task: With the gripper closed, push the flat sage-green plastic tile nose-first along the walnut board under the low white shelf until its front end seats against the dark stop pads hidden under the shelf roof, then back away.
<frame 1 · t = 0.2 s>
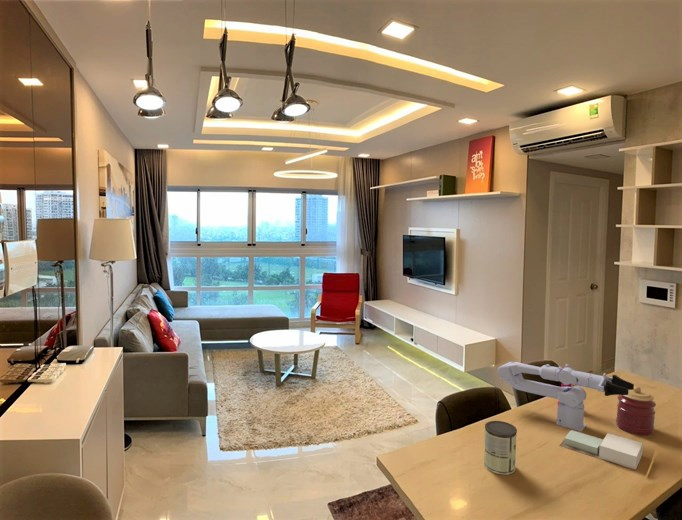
hand: (630, 389, 164), 21 cm above the table, tool horizontal, fingers open, 7 cm apart
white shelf: (621, 450, 156), on the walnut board
coffee can: (499, 467, 150), on the table
pepper mill: (565, 407, 199), on the table
sage tile: (583, 444, 164), resting on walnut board
canister: (634, 428, 178), on the table
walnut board: (618, 457, 156), on the table
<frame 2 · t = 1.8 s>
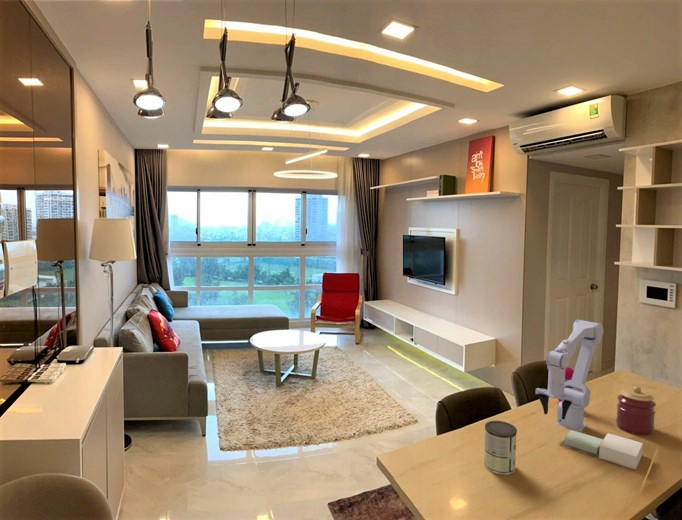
hand: (554, 416, 170), 8 cm above the table, tool pointing down, fingers open, 6 cm apart
nothing on the table moved.
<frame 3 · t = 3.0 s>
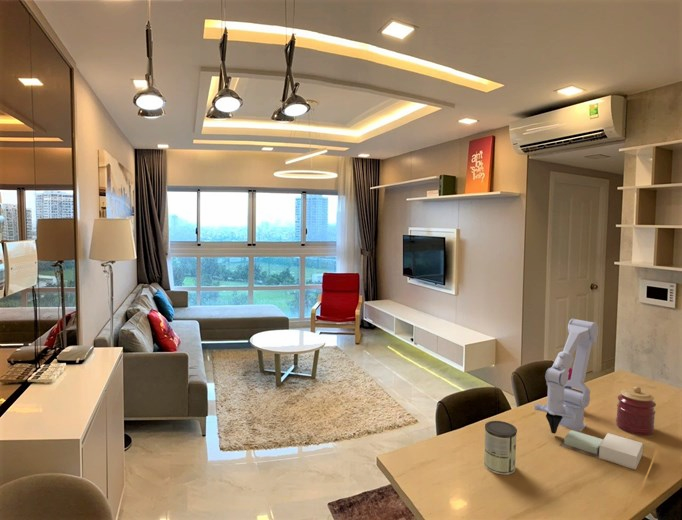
hand: (553, 432, 171), 2 cm above the table, tool pointing down, fingers closed
nothing on the table moved.
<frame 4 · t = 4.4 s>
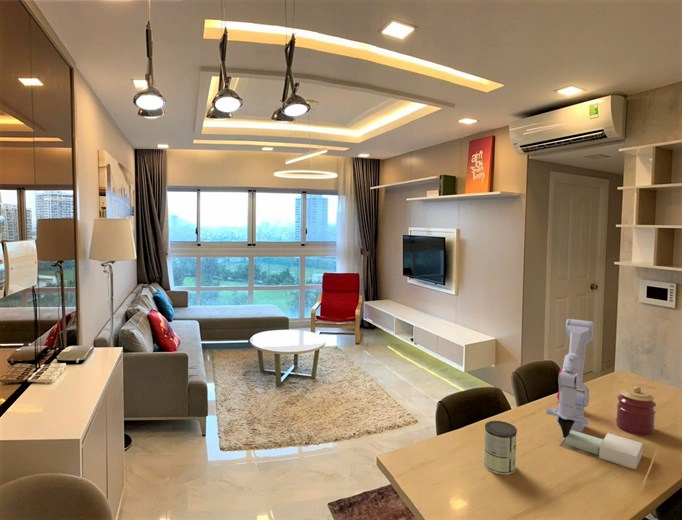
hand: (565, 436, 168), 1 cm above the table, tool pointing down, fingers closed
sage tile: (584, 445, 164), point 1 cm above the table, touching gripper
everything else where it was.
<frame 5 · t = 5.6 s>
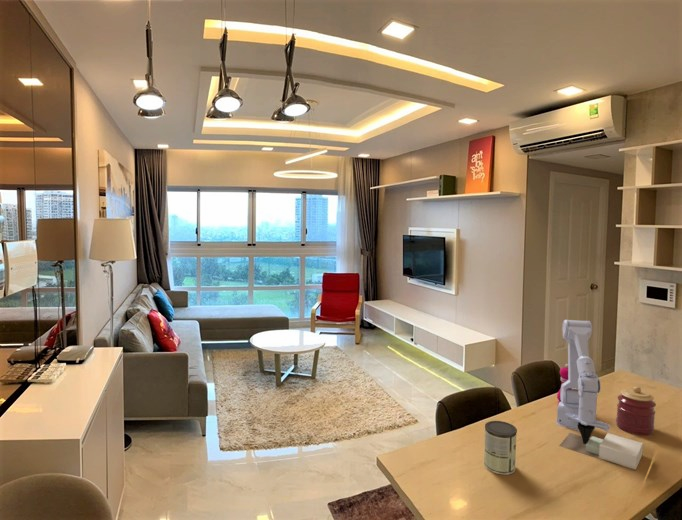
hand: (585, 443, 163), 1 cm above the table, tool pointing down, fingers closed
sage tile: (605, 451, 159), point 1 cm above the table, touching gripper
everything else where it was.
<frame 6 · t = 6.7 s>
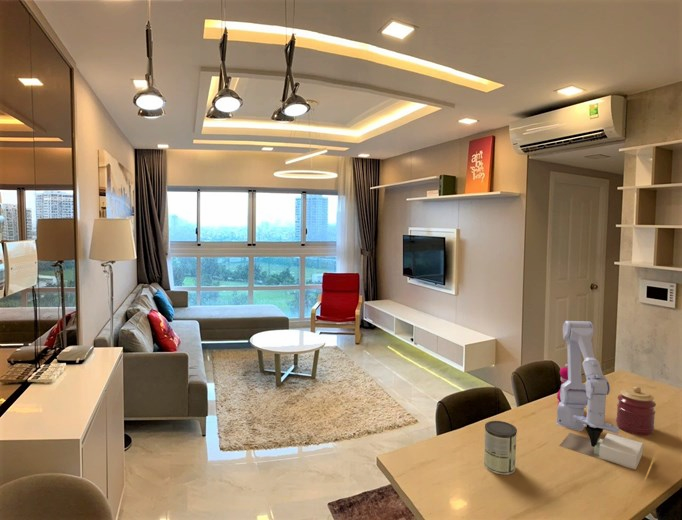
hand: (593, 445, 162), 1 cm above the table, tool pointing down, fingers closed
sage tile: (614, 454, 157), point 1 cm above the table, touching gripper, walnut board, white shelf
everything else where it was.
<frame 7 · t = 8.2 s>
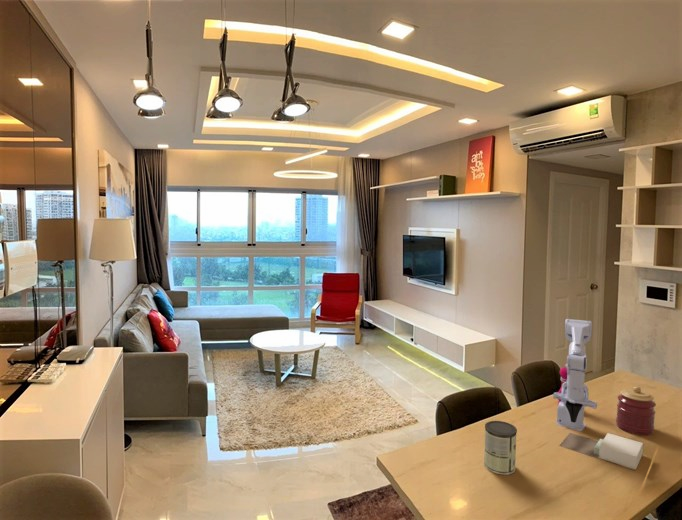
hand: (573, 421, 165), 9 cm above the table, tool pointing down, fingers closed
sage tile: (614, 454, 157), resting on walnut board, touching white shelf
everything else where it was.
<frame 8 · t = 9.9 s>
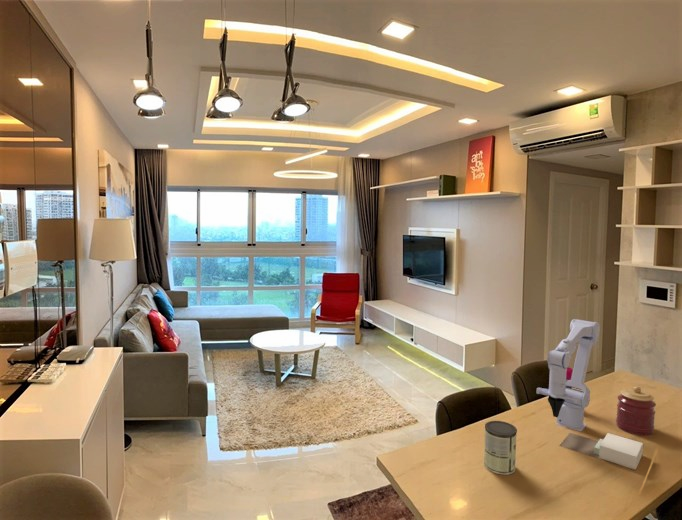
hand: (555, 416, 168), 9 cm above the table, tool pointing down, fingers closed
nothing on the table moved.
at the end: sage tile 0.1 cm from the target spot, point 0.5 cm above the table; sage tile tilted 0° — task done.
